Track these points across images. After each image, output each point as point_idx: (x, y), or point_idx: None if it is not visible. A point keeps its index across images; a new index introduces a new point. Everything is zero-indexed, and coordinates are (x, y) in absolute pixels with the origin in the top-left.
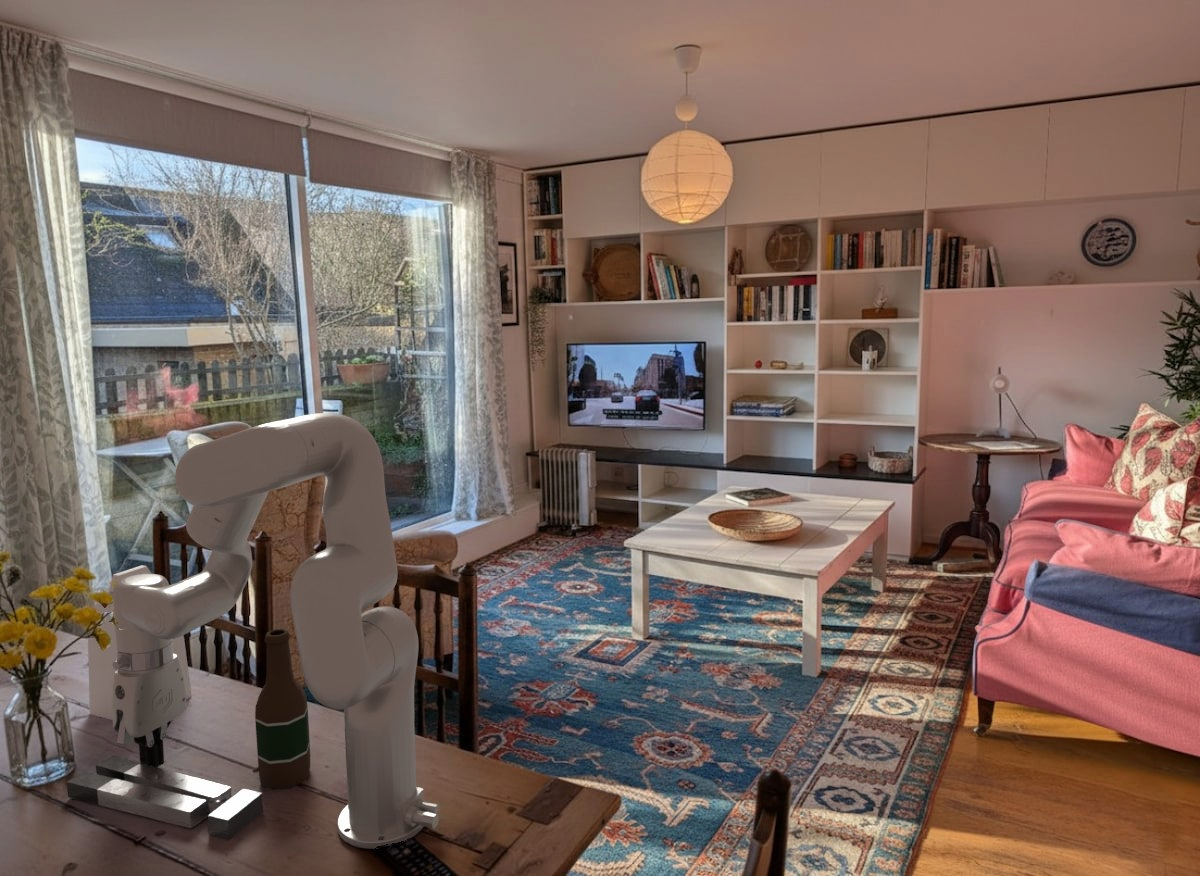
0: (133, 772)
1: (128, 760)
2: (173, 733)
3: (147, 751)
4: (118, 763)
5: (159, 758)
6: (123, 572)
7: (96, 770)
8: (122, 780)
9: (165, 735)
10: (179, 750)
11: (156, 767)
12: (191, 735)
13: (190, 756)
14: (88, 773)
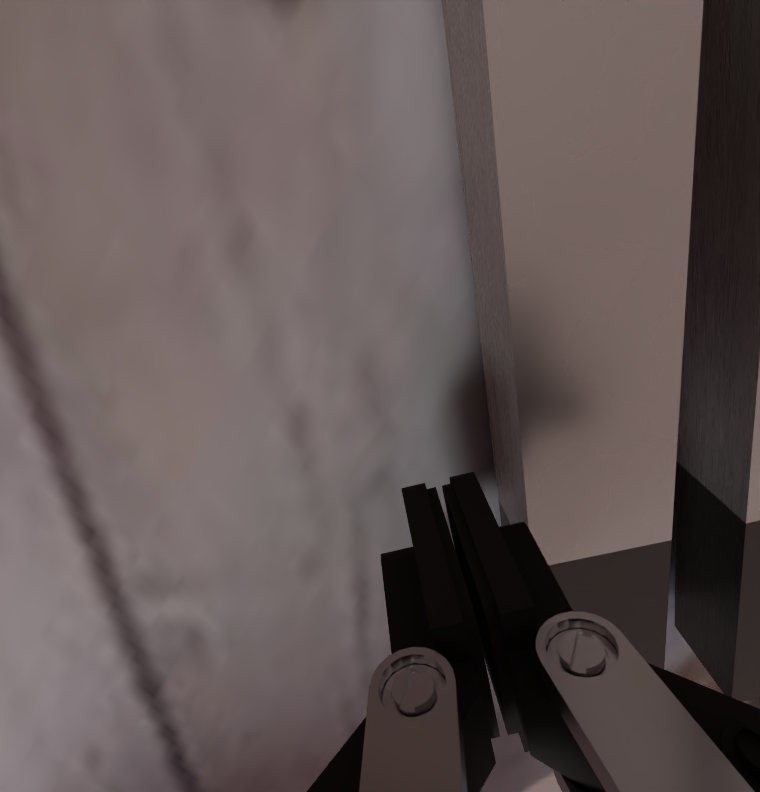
0: (642, 499)
1: None
2: (135, 753)
3: (562, 597)
4: None
5: (444, 517)
6: None
7: None
8: (754, 460)
9: (380, 683)
10: (194, 604)
11: (527, 430)
12: (70, 686)
13: (180, 505)
14: (744, 673)
